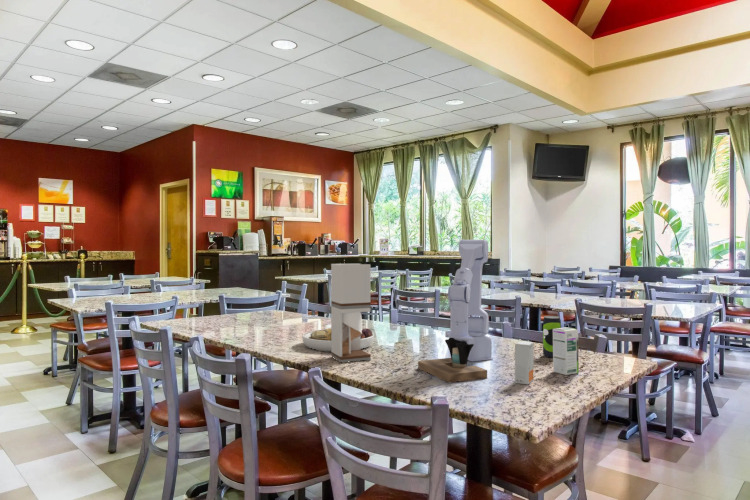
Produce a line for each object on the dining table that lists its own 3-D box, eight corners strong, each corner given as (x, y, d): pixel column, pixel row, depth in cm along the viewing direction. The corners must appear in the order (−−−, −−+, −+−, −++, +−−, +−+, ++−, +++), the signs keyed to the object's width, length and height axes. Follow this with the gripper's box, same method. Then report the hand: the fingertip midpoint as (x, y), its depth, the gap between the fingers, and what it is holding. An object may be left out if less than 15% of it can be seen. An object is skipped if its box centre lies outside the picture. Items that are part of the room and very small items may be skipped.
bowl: (292, 352, 203) (292, 332, 202) (314, 338, 232) (314, 321, 232) (367, 354, 198) (367, 334, 197) (379, 340, 227) (379, 323, 227)
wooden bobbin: (461, 364, 172) (461, 346, 172) (469, 367, 168) (469, 349, 168) (449, 365, 170) (449, 347, 170) (456, 368, 166) (456, 350, 166)
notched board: (453, 364, 180) (453, 357, 180) (487, 378, 161) (487, 370, 161) (418, 368, 174) (418, 361, 174) (448, 382, 156) (448, 374, 156)
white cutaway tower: (341, 363, 182) (340, 264, 182) (331, 357, 192) (331, 263, 192) (370, 360, 187) (370, 264, 186) (359, 354, 196) (359, 263, 196)
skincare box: (528, 385, 153) (528, 345, 153) (514, 383, 156) (514, 343, 155) (534, 380, 158) (534, 341, 158) (520, 378, 161) (520, 340, 161)
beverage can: (558, 354, 196) (558, 315, 195) (562, 358, 189) (562, 318, 189) (541, 354, 196) (541, 315, 196) (545, 358, 190) (545, 317, 190)
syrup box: (566, 375, 164) (566, 330, 164) (552, 371, 170) (552, 327, 170) (579, 373, 167) (579, 329, 167) (564, 369, 172) (564, 326, 172)
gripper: (437, 319, 174) (437, 358, 174) (460, 325, 161) (460, 368, 161) (455, 317, 177) (455, 357, 177) (479, 323, 163) (479, 366, 163)
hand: (459, 362), depth 169 cm, fingers closed on wooden bobbin, 5 cm apart
